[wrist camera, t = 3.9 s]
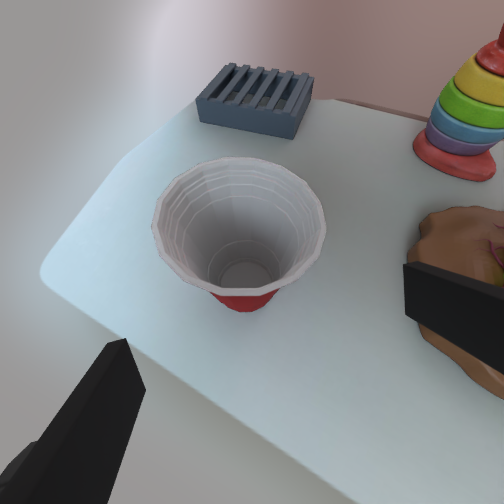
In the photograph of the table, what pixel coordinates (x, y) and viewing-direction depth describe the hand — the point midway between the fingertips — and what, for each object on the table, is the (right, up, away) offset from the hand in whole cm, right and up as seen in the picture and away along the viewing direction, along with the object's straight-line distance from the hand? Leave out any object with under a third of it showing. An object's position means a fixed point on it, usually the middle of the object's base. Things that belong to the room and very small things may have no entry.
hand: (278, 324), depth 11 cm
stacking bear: (+27, +18, +24) cm, 40 cm away
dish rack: (0, +28, +31) cm, 41 cm away
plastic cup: (-2, 0, +14) cm, 14 cm away
